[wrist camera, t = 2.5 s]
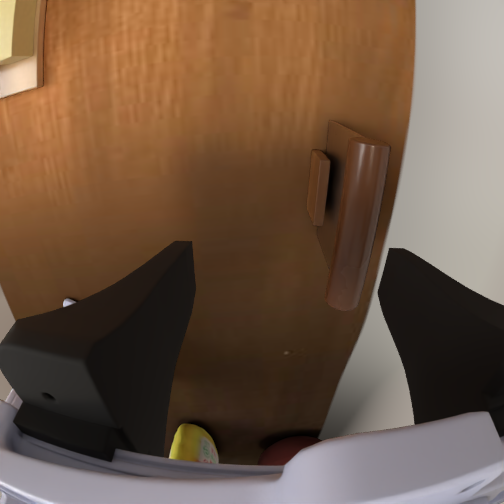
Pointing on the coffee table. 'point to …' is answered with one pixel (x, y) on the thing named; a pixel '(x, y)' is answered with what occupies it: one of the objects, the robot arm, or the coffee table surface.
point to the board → (26, 62)
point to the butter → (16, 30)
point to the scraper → (351, 211)
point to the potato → (285, 450)
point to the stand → (318, 186)
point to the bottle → (193, 445)
